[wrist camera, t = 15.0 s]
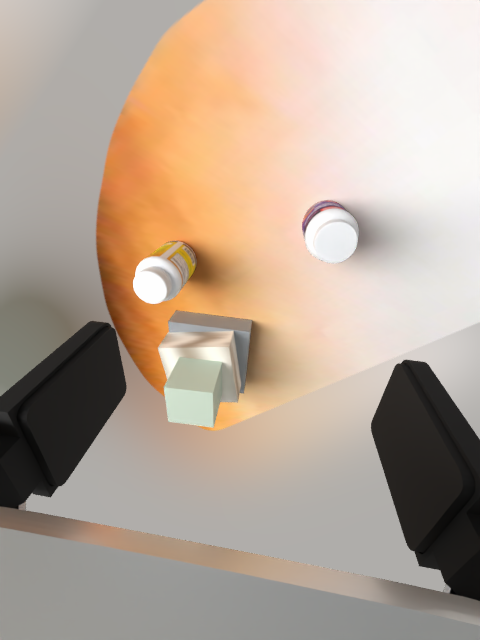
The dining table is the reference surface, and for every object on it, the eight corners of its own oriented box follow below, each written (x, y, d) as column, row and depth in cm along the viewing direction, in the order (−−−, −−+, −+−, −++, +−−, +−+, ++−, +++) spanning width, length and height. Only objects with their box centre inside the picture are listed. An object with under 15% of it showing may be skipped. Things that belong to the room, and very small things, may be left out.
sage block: (222, 361, 39) (212, 393, 34) (222, 394, 42) (213, 427, 37) (179, 357, 39) (163, 387, 34) (182, 389, 42) (168, 421, 37)
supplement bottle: (155, 267, 41) (121, 297, 33) (165, 232, 38) (130, 255, 30) (191, 284, 42) (166, 317, 33) (203, 250, 39) (180, 277, 30)
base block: (252, 318, 44) (249, 332, 41) (246, 377, 50) (243, 393, 47) (177, 308, 45) (168, 321, 41) (180, 367, 51) (172, 383, 48)
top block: (233, 330, 41) (228, 346, 37) (241, 383, 46) (237, 402, 42) (168, 332, 42) (157, 348, 39) (182, 383, 47) (174, 401, 44)
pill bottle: (335, 190, 33) (352, 201, 25) (353, 230, 35) (375, 253, 27) (293, 215, 35) (297, 233, 27) (312, 252, 37) (321, 280, 29)
